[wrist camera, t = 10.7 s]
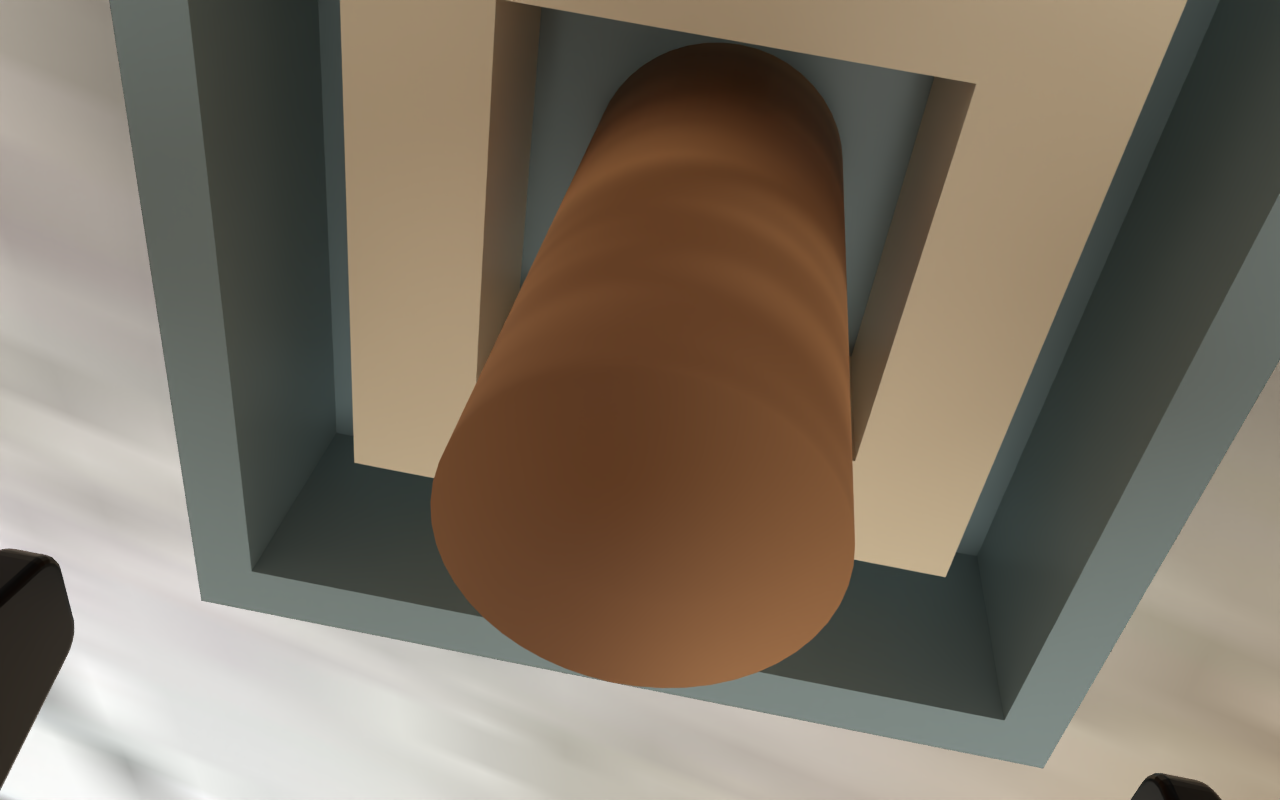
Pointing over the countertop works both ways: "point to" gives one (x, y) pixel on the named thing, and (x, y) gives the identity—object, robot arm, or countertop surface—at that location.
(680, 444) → the peg
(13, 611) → the robot arm
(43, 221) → the countertop surface
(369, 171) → the open box
